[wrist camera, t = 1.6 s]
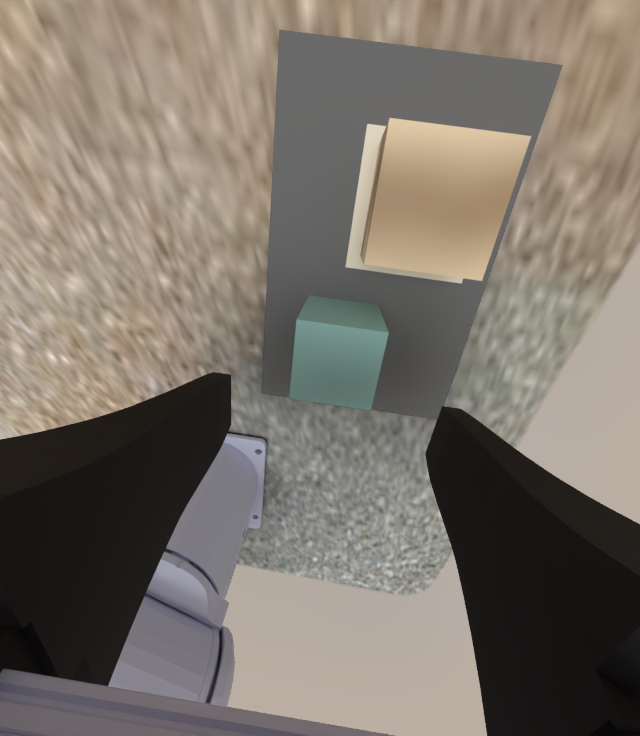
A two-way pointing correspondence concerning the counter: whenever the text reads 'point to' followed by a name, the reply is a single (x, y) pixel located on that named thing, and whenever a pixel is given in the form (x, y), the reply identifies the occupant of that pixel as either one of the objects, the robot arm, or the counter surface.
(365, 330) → the teal block
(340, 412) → the counter surface
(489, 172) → the maple block
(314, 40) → the mat
